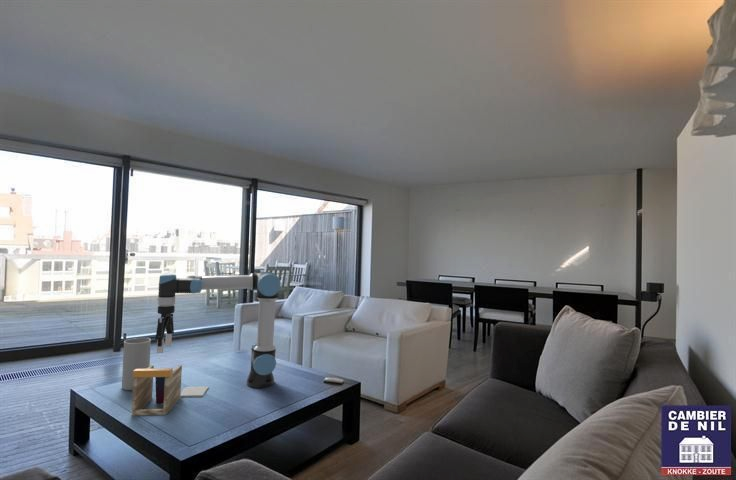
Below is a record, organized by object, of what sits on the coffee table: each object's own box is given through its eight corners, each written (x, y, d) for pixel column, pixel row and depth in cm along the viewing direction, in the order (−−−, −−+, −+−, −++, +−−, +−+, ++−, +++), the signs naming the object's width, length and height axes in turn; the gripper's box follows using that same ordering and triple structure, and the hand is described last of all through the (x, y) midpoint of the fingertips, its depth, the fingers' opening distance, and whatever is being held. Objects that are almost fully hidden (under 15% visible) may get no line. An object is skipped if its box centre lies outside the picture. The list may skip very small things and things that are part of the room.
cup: (172, 400, 191) (173, 370, 191) (161, 405, 185) (162, 374, 185) (162, 397, 193) (163, 368, 194) (150, 402, 187) (152, 372, 187)
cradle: (180, 397, 194) (181, 365, 194) (166, 414, 175) (168, 378, 176) (148, 398, 192) (150, 365, 192) (131, 415, 173) (133, 378, 173)
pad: (208, 388, 208) (208, 386, 208) (202, 396, 197) (202, 395, 197) (185, 388, 207) (185, 386, 207) (177, 397, 195) (178, 395, 195)
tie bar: (172, 374, 179) (172, 368, 179) (170, 376, 176) (170, 370, 176) (135, 375, 177) (136, 368, 177) (132, 377, 174) (133, 370, 174)
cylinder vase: (116, 388, 203) (118, 341, 203) (138, 380, 215) (140, 336, 215) (132, 392, 198) (134, 344, 199) (153, 384, 210) (156, 339, 210)
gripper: (166, 301, 200) (164, 343, 200) (148, 308, 178) (146, 356, 178) (181, 301, 202) (179, 343, 201) (165, 309, 179) (163, 356, 179)
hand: (164, 349), depth 189 cm, fingers open, 10 cm apart
